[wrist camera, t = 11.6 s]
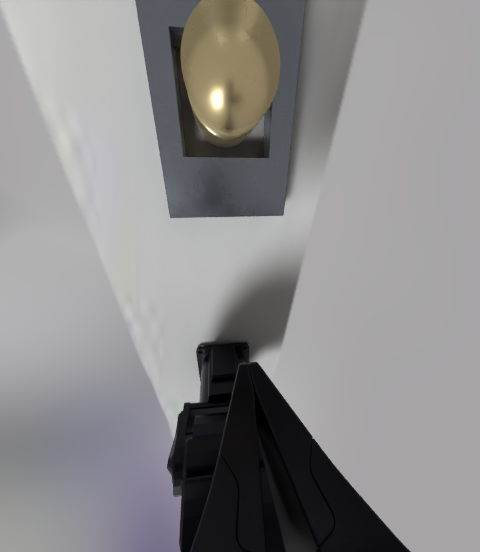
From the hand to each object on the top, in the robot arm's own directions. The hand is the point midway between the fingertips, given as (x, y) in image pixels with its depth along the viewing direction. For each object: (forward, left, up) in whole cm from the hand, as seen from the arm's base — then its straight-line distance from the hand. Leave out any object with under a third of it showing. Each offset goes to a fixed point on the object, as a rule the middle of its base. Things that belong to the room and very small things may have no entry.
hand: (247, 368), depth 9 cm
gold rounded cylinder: (+12, 0, -12) cm, 17 cm away
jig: (+12, 0, -12) cm, 17 cm away
